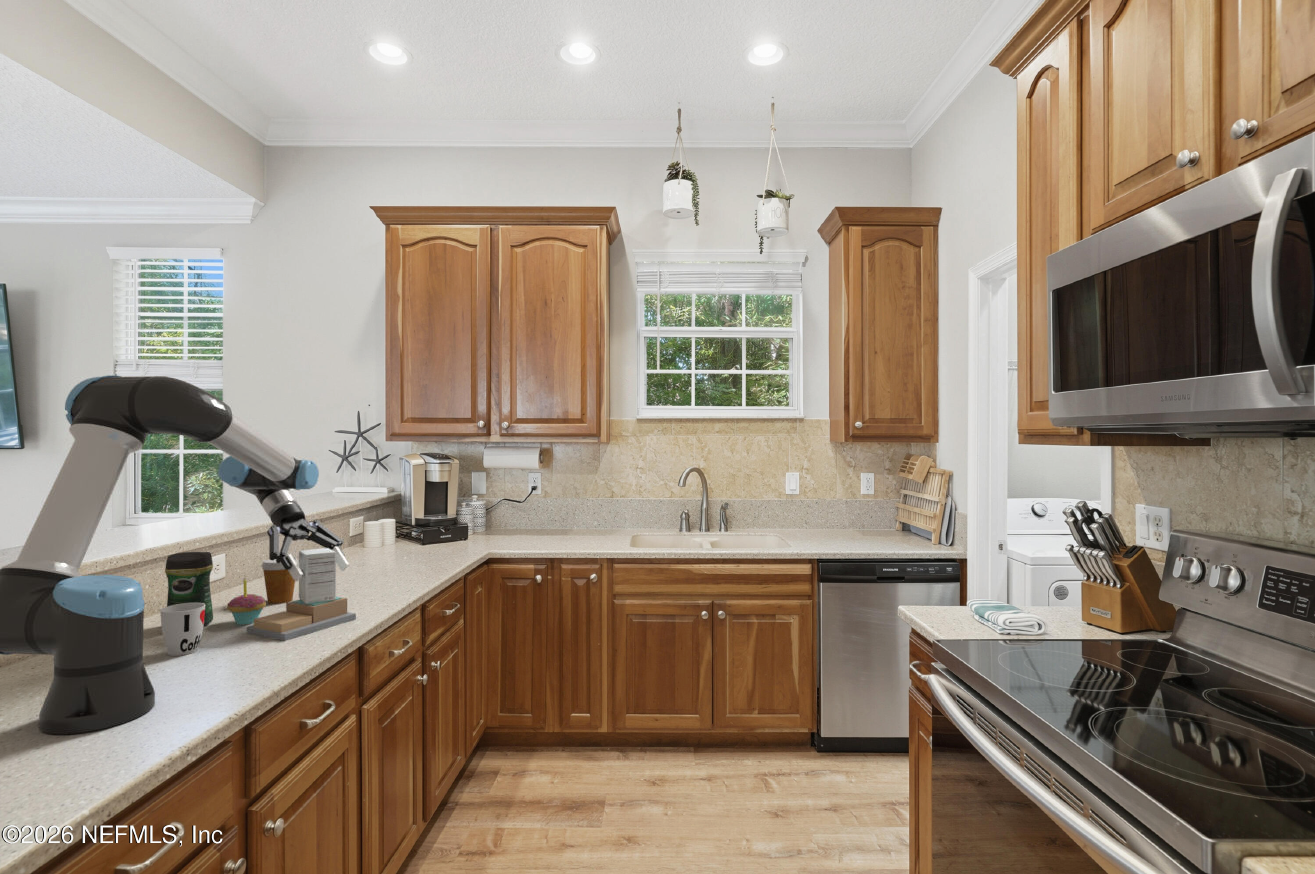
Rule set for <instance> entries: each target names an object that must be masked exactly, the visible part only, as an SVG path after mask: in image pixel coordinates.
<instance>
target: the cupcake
mask: <svg viewBox="0 0 1315 874" xmlns="http://www.w3.org/2000/svg"><path fill="white" fill-rule="evenodd" d="M247 583H248V582H247V580H246V577H244V580H243V594H241V595H238V596H236V597H234V598H233V599H230V601H228V603H227V605H226V610H227V611H228V612H230V613H231V614H232V616H233V618H234V619H233V620H234V622H235V624H236V625H239V626H240V625H241V626H243V625H250V624H252V625H253V624H254V619H256V618H260V615H261V612H262V611H263V610H264V608H265V607H266V606H267V605H266V604H267V603H266V602H267V600H265V598H264V597H263V596H261V595H257V594H254V593H249V594H248V590H247V589H248V588H247V586H248V585H247Z"/></svg>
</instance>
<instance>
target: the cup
mask: <svg viewBox="0 0 1315 874" xmlns="http://www.w3.org/2000/svg"><path fill="white" fill-rule="evenodd" d="M159 610H160V611H159V612H160V625H161V626H160V627H161V632H162V637H163V643H164V646H165V648H166V651H167V653H168V655H169V656H171V657H172V656H173V657H175V656H176V657H179V656H186V655H189V654H193V653H195V652H197V651H198V648H199V646H200V643H201V639H202V635H203V631H204V626H205V625H204V617H205V604H204V603H183V604H176V605H171V606H167V605H166V606H165V607H162V608H161V609H159Z"/></svg>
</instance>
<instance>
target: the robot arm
mask: <svg viewBox="0 0 1315 874" xmlns="http://www.w3.org/2000/svg"><path fill="white" fill-rule="evenodd" d="M64 410H65V411H67V413H66V414H65V418H66V420H67V421H68V423H69V424H70V427H69V429H68V431H69V434H71V436H72V437H73V439H74V441H73V443H72V445H71V447H70V449H69V452H68V454H67V456H66V457H65V459H64V462H63V465H62V466H61V468H60V470H59V472H58V474H57V476H56V478H55V481H54V482H53V485H52V486H51V489H50V491H49V493H48V495H47V496H46V499H45V501H44V503H43V504H42V507H41V509H40V511H39V513H38V516H37V517H36V520H35V522H34V524H33V526H32V528H31V531H30V532H29V533H28V535H27V538H26V540H25V542H24V545H23V546H22V549H21V551H20V553H19V555H18V557H17V559H16V560H14V561H13V562H10V563H8V564H6V565H3V566H1V567H0V655H3V656H8V655H14V654H15V655H43V656H44V655H46V656H53V679H52V682H51V684H50V687H49V689H48V691H47V695H46V696H45V699H44V702H43V704H42V705H41V706H42V707H41V710H40V712H39V716H38V729H39V731H41V732H42V733H45V734H49V735H74V734H82V733H89V732H93V731H94V732H95V731H98V730H102V729H108V728H111V727H114V726H118V725H122V724H124V723H127V722H130V721H132V720H135V719H137V718H139V717H141V716H143V715H145V714H146V713H148V712H150V711H151V710H152V709H153V708H154V707H155V704H156V692H155V689H154V685H153V684H152V681H151V679H150V676H149V674H148V673H147V670H146V667H145V665H144V661H143V660H144V659H143V657H144V656H143V655H144V652H143V649H144V623H145V622H144V616H145V614H144V613H145V600H144V594H143V593H144V592H143V587H142V585H141V583H140V582H139V581H138V580H136V579H134V578H131V577H127V576H122V575H114V574H113V575H112V574H102V575H95V574H91V575H82V574H81V573H80V570H79V569H80V568H81V565H82V562H83V560H84V558H85V556H86V554H87V551H88V549H89V546H90V544H91V542H92V540H93V537H94V536H95V533H96V530H97V528H98V526H99V524H100V521H101V519H102V517H103V514H104V513H105V510H106V507H107V506H108V504H109V501H110V498H111V496H112V495H113V492H114V489H115V487H116V485H117V483H118V480H119V478H120V475H121V473H122V471H123V469H124V466H125V464H126V462H127V459H128V457H129V455H130V454H132V453H135V452H138V451H140V450H141V449H142V448H143V447H144V443H145V442H146V439H147V437H148V435H152V434H153V435H155V434H156V435H162V434H164V435H174V436H175V435H178V436H183V437H187V438H188V439H189V438H190V439H192V440H193V441H194V442H197V443H201V444H202V443H203V444H204V443H205V444H206V443H207V444H210V445H211V446H213V447H215V448H216V449H219V450H220V451H221V452H223V453H225V454H226V455H229V456H227V457H226V458H224V459H223V460H222V461H221V463H220V464H219V465H218V466H219V467H218V470H217V475H218V477H219V480H221V481H222V482H224V483H226V484H227V485H229V486H230V487H234V488H236V489H239V490H241V491H244V492H246V493H249V494H251V495H253V496H255V497H256V499H257V501H258V502H259V504H260V505H261V508H263V510H264V512H265V513H266V515H267V517H269V519H270V521H271V523H272V524H271V526H270V527H269V528H268V530H267V531H266V533H267V535H268V538H269V546H268V547H269V548H268V549H269V550H268V554H269V556H268V559H270V560H274V559H277V560H276V562H277V563H282V565H283V567H284V568H285V569H286V570H288V571H289V572H290V574H291V576H292V577H293V579H294V580H295V582H299V579H300V578H301V576H302V575H303V573H302V571H301V570H300V568H299V564H298V565H297V563H296V562H295V560H294V558H295V557H294V556H293V555H292V554H291V553H289V554H288V552H289V550H290V549H289V548H290V546H291V543H292V541H293V542H296V541H303V540H306V541H308V542H310V541H311V542H313V543H315V544H317V545H319V546H321V547H322V548H329V549H331V550H333V551H335V552H336V566H338V568H339V569H340V571H341V572H344V571H346V569H347V568H348V567H349V565H350V563H349V562H348V560H347V559H346V557H345V553H344V552H343V550H342V548H341V547H342V545H343V544H344V543H345V541H344V540H343V539H342V538H341V537H339V536H338V535H336V534H335V533H334V532H332V531H331V530H330V529H328V528H327V527H326V526H324V525H323V523H321V521H320V520H318V519H314V520H313V521H312V522H309V521H307V519H306V513H304V511H303V509H302V508H301V505H300V504H299V503H298V502H297V500H296V499H295V498H296V497H294V495H293V493H292V492H291V491H290V490H292V491H293V490H294V491H300V490H311V489H313V488H314V487H315V486H316V485H317V483H318V481H319V480H318V479H319V475H320V474H319V468H318V465H317V464H316V462H314V461H313V460H309V459H308V460H306V459H300V460H299V459H297V458H296V457H293V456H292V455H291V454H289V452H287V451H285V450H284V449H282V448H280V447H279V446H278V445H277V444H275V443H274V442H272V441H271V440H269V439H268V438H266V437H265V436H264V435H262V434H261V433H259V432H258V431H257V430H255V429H254V428H252V427H251V426H249V425H248V424H247V423H245V422H244V421H242V420H241V419H240V418H238V417H237V416H235V415H234V413H233V409H232V407H230V406H229V405H228V404H227V403H225V402H224V401H222V400H221V399H219V397H216V396H215V395H213V394H212V393H210V392H208V391H206V390H204V389H202V388H200V387H199V386H196V385H194V384H192V383H190V382H187V381H185V380H182V379H178V378H175V377H172V376H171V377H170V376H164V375H163V376H157V375H156V376H155V375H154V376H151V375H150V376H122V375H115V374H113V375H109V374H108V375H103V376H94V377H90V378H86V379H84V380H81V381H80V382H78V383H77V384H76V385H75V386H73V387H72V389H71V390H70V392H69V393H68V395H67V397H66V399H65V403H64ZM280 534H281V535H282V536H284V537H283V541H282V545H281V547H280ZM293 557H294V558H293Z"/></svg>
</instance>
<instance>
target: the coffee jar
mask: <svg viewBox="0 0 1315 874" xmlns="http://www.w3.org/2000/svg"><path fill="white" fill-rule="evenodd" d="M212 557H213V556H212V553H211V552H210V551H185V552H177V553H173V554H170V555H168V556H167V558H166V561H165V567H164V568H165V569H164V572H165V576H166V577H167V601H166V607H167V606H171V605H176V604H183V603H204V604H205V617H204V626H208V625H209V624H211V623H212V621H213V620H214V612H213V611H214V610H213V602H212V595H211V580H210V579H211V573H212V570H213V568H214V561H213V558H212Z"/></svg>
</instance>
